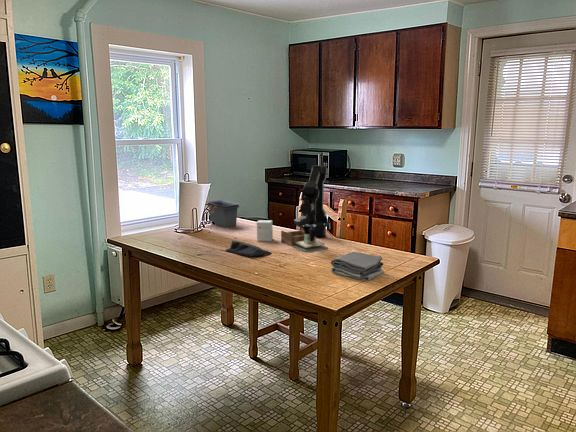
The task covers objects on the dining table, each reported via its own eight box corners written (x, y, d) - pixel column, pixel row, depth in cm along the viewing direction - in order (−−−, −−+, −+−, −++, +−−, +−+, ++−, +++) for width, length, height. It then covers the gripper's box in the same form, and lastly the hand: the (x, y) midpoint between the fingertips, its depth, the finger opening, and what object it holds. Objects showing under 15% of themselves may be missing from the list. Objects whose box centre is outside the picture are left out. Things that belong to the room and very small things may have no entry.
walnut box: (301, 238, 254) (302, 227, 253) (313, 243, 245) (313, 231, 244) (281, 241, 248) (281, 230, 247) (291, 246, 239) (291, 234, 237)
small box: (272, 238, 255) (272, 220, 253) (271, 241, 249) (271, 222, 247) (258, 238, 255) (258, 220, 253) (256, 241, 250) (256, 222, 248)
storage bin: (242, 225, 288) (242, 203, 285) (222, 229, 278) (221, 206, 275) (222, 221, 303) (221, 199, 300) (202, 224, 293) (201, 202, 290)
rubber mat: (314, 243, 245) (314, 242, 244) (327, 248, 234) (327, 247, 234) (292, 246, 238) (292, 245, 237) (304, 252, 227) (304, 251, 227)
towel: (349, 265, 207) (349, 248, 205) (385, 274, 195) (386, 256, 193) (329, 273, 195) (329, 256, 194) (367, 283, 184) (368, 264, 182)
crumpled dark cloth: (248, 260, 215) (248, 250, 214) (223, 251, 232) (223, 241, 231) (274, 254, 225) (274, 245, 224) (248, 245, 241) (248, 237, 240)
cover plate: (313, 240, 243) (313, 230, 242) (324, 244, 234) (324, 234, 233) (295, 243, 237) (295, 233, 236) (306, 247, 229) (306, 237, 228)
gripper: (287, 209, 236) (287, 238, 239) (306, 215, 220) (306, 246, 223) (305, 207, 242) (305, 236, 245) (325, 213, 226) (325, 243, 229)
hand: (309, 240), depth 235 cm, fingers closed on cover plate, 3 cm apart
